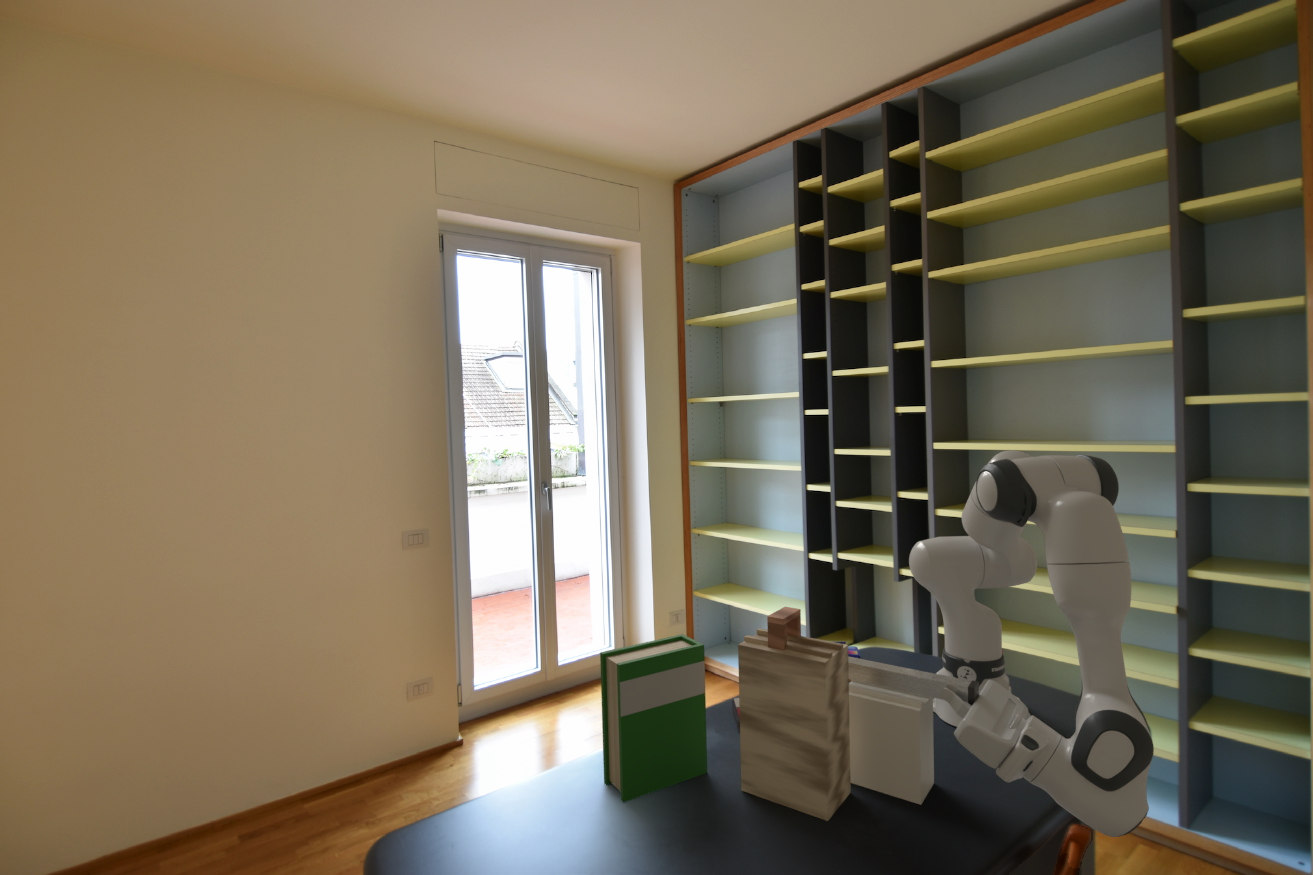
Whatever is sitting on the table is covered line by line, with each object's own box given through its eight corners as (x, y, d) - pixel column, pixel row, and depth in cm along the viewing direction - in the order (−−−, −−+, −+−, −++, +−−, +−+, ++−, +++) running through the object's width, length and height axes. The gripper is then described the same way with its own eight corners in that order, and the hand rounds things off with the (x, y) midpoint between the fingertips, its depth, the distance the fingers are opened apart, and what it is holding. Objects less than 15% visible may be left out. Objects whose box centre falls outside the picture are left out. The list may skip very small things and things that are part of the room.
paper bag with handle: (767, 765, 128) (764, 600, 127) (850, 792, 118) (847, 613, 117) (741, 790, 120) (737, 614, 119) (827, 820, 110) (824, 629, 109)
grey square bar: (840, 670, 128) (839, 653, 127) (978, 700, 113) (978, 681, 113) (833, 676, 125) (833, 659, 125) (974, 707, 111) (974, 688, 111)
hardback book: (623, 802, 117) (619, 664, 116) (604, 782, 124) (600, 652, 123) (707, 772, 126) (704, 644, 125) (685, 755, 133) (682, 634, 132)
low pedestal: (856, 760, 129) (855, 673, 128) (934, 783, 121) (932, 689, 120) (840, 779, 123) (838, 687, 122) (921, 804, 114) (919, 706, 114)
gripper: (1047, 706, 115) (970, 652, 122) (1027, 757, 99) (939, 691, 106) (1026, 733, 117) (951, 679, 124) (1003, 787, 101) (919, 721, 108)
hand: (946, 685), depth 115 cm, fingers closed on grey square bar, 3 cm apart
